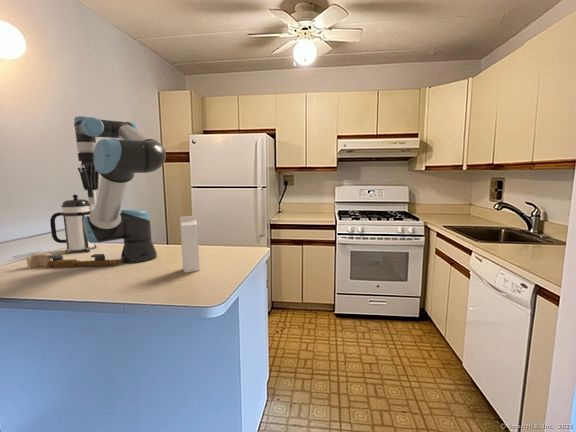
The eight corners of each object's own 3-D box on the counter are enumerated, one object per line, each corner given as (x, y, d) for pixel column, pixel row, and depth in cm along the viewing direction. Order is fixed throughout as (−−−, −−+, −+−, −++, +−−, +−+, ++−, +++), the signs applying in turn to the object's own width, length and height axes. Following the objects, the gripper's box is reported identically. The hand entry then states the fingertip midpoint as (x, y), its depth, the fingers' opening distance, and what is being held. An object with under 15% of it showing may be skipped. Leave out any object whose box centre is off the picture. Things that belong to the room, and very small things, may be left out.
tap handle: (114, 260, 135) (44, 261, 135) (114, 267, 135) (45, 268, 135) (118, 258, 138) (50, 259, 138) (118, 265, 138) (51, 266, 138)
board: (113, 262, 142) (112, 249, 141) (102, 267, 133) (100, 254, 133) (42, 263, 143) (41, 251, 142) (26, 269, 134) (25, 255, 134)
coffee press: (89, 246, 178) (83, 193, 174) (102, 249, 168) (96, 193, 165) (53, 252, 164) (46, 195, 160) (65, 256, 155) (58, 196, 151)
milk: (200, 270, 126) (196, 216, 123) (184, 272, 123) (180, 217, 120) (197, 266, 131) (194, 214, 128) (182, 268, 129) (179, 215, 126)
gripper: (87, 153, 149) (93, 203, 152) (69, 151, 136) (75, 205, 139) (103, 153, 149) (108, 202, 152) (87, 151, 136) (92, 205, 139)
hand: (92, 204), depth 145 cm, fingers closed
